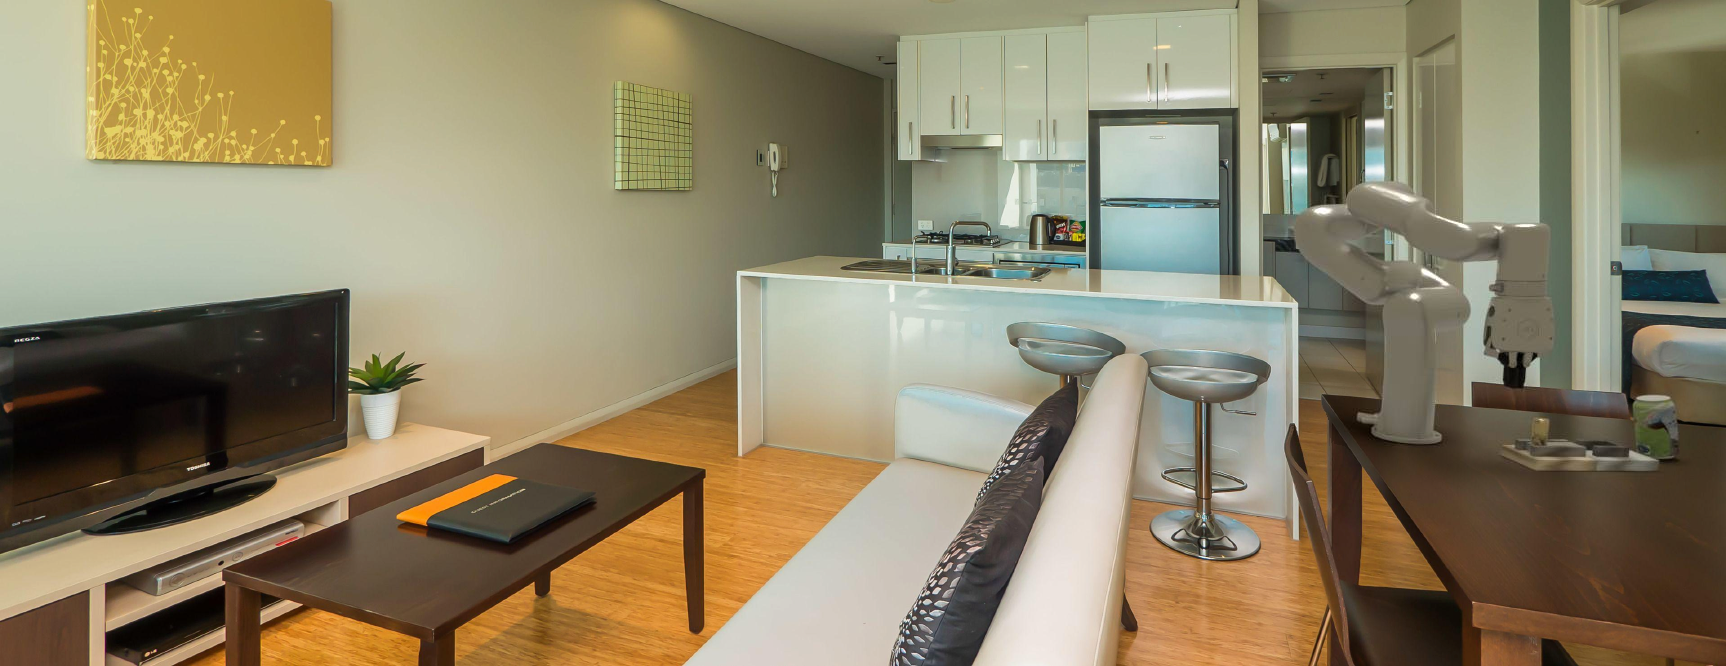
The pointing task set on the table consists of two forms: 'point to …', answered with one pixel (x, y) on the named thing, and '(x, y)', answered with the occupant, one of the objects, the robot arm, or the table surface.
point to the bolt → (1543, 435)
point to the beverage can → (1656, 426)
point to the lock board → (1579, 456)
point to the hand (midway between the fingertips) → (1513, 387)
